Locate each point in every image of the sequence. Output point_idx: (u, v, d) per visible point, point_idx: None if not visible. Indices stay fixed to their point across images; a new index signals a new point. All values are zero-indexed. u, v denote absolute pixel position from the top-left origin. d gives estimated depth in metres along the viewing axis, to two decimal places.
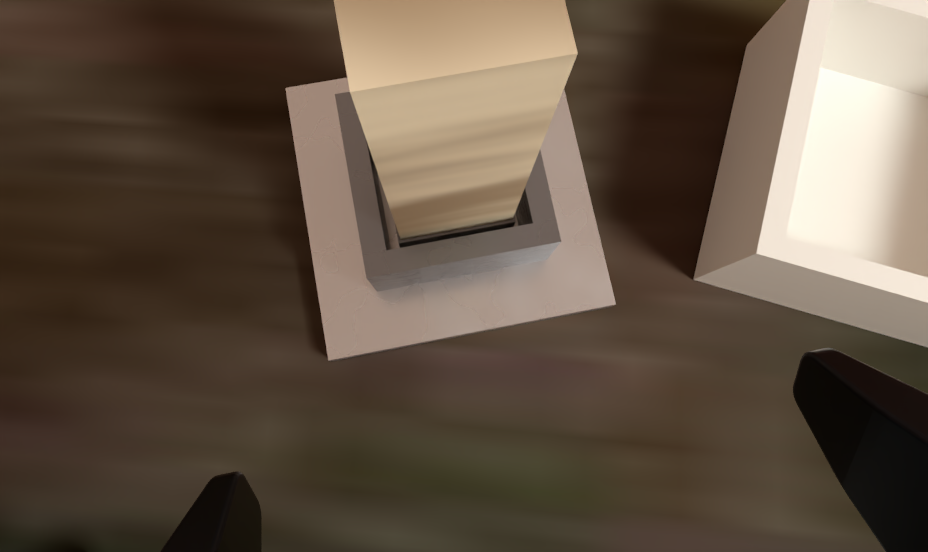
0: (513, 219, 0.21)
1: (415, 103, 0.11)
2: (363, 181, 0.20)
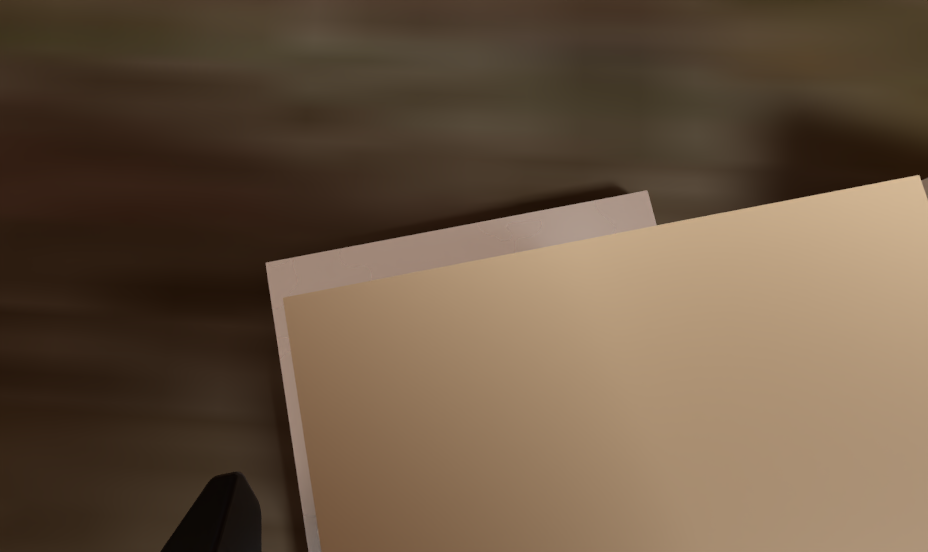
0: None
1: None
2: None
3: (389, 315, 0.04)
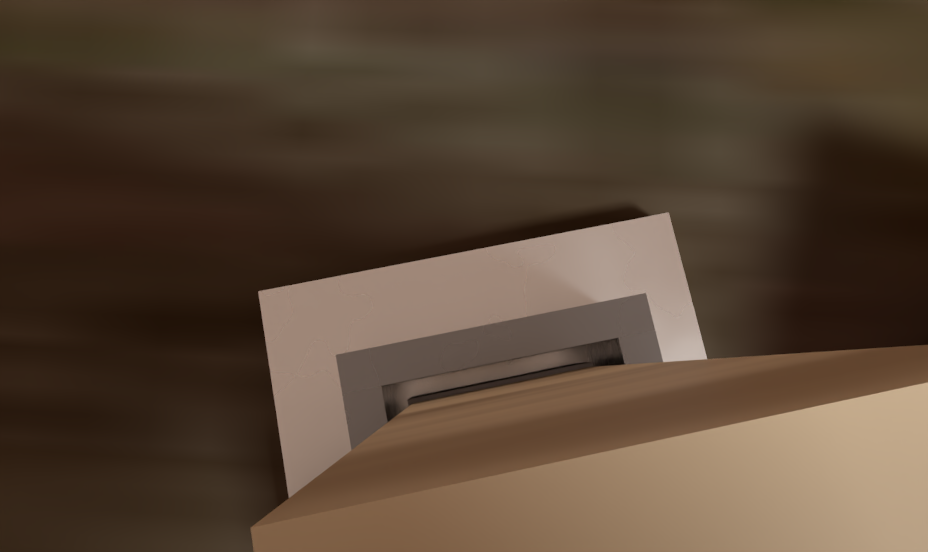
0: None
1: None
2: None
3: None
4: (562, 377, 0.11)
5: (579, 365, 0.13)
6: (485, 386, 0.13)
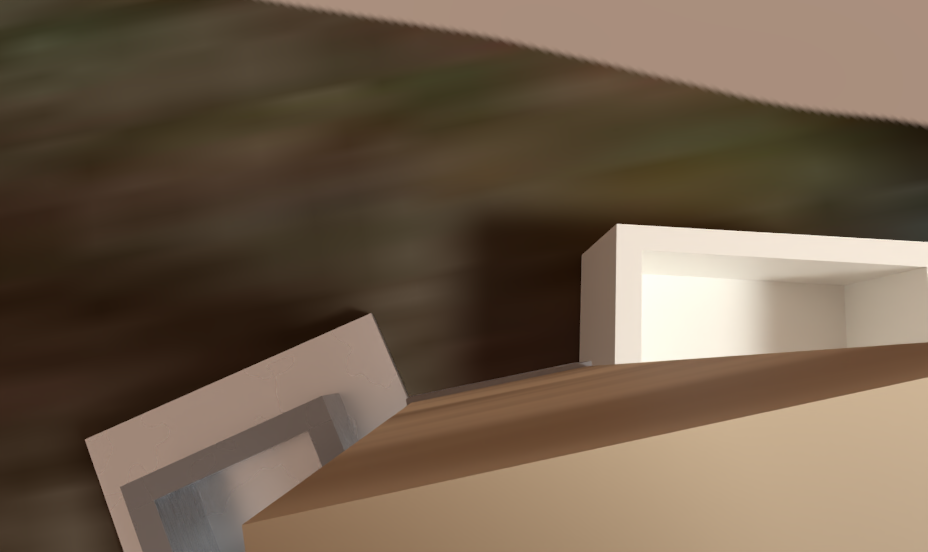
0: None
1: None
2: None
3: (402, 551, 0.02)
4: (560, 376, 0.11)
5: (577, 364, 0.13)
6: (484, 385, 0.13)
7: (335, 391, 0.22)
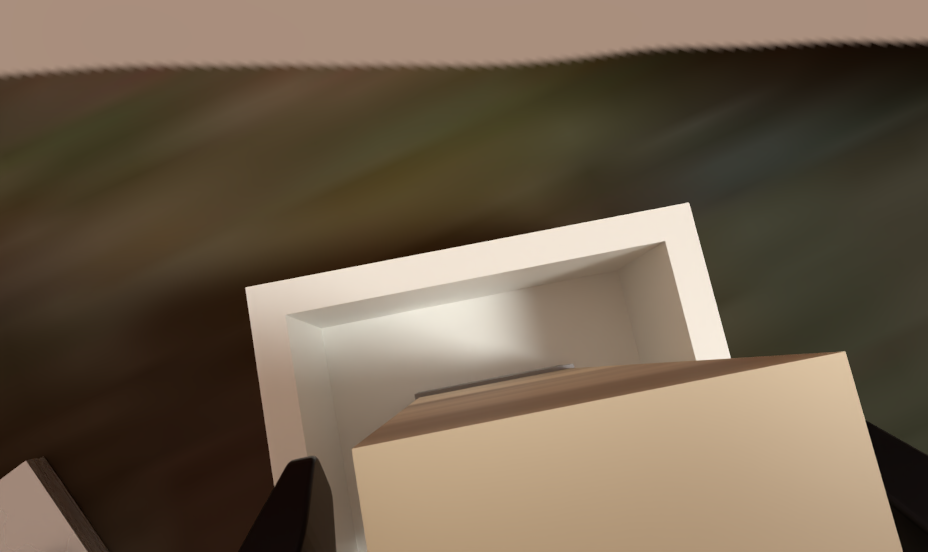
0: None
1: None
2: None
3: (433, 463, 0.05)
4: (544, 376, 0.13)
5: (561, 366, 0.16)
6: (481, 383, 0.16)
7: None
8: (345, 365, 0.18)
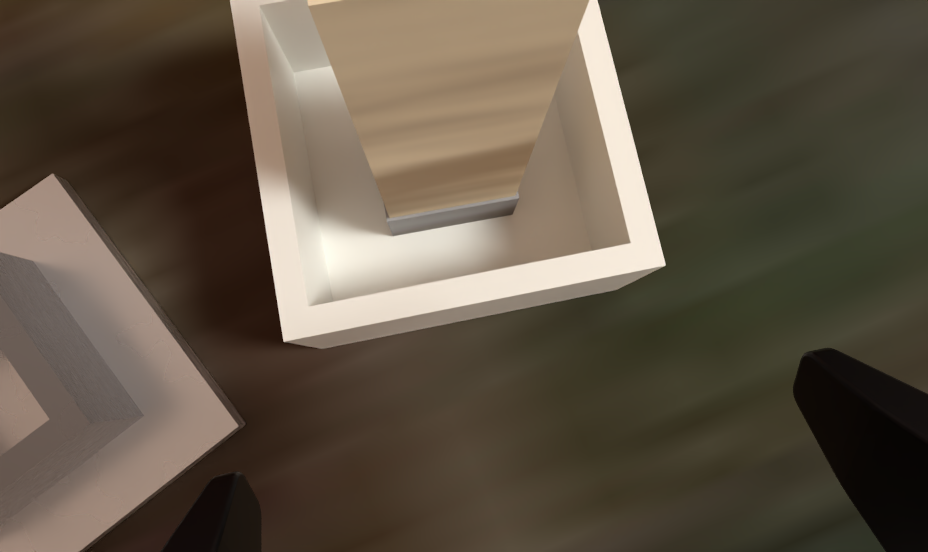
0: (516, 195, 0.19)
1: (396, 29, 0.09)
2: None
3: None
4: None
5: None
6: None
7: (28, 260, 0.20)
8: (313, 101, 0.21)
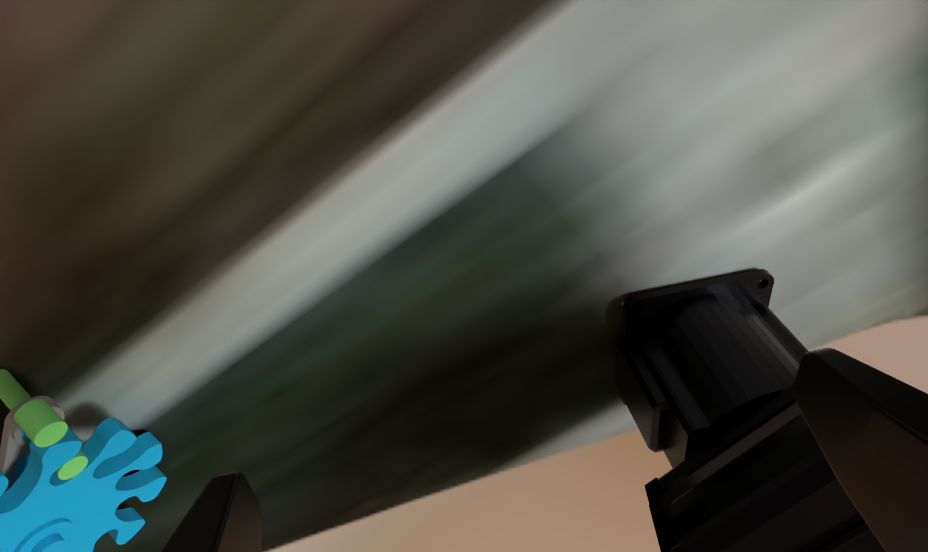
0: None
1: None
2: None
3: None
4: None
5: None
6: None
7: None
8: None
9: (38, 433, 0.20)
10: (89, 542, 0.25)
